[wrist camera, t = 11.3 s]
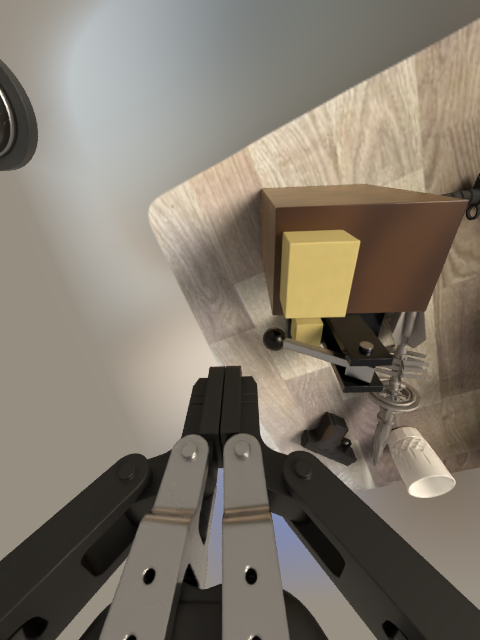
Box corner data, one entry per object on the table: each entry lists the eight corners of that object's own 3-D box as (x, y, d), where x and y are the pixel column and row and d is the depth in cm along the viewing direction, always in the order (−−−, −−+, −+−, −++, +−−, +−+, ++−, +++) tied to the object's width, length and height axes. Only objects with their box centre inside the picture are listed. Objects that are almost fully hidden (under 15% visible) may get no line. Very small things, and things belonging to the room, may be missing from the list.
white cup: (380, 429, 53) (407, 480, 44) (421, 420, 51) (457, 472, 42) (384, 449, 56) (408, 500, 48) (422, 442, 55) (454, 493, 46)
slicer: (285, 339, 41) (300, 402, 30) (288, 294, 37) (307, 349, 26) (373, 337, 41) (420, 400, 30) (386, 292, 36) (446, 346, 25)
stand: (261, 255, 34) (272, 315, 20) (261, 188, 30) (275, 207, 16) (352, 252, 33) (425, 311, 20) (365, 184, 29) (470, 199, 16)
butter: (289, 329, 40) (294, 348, 36) (291, 306, 38) (296, 324, 34) (311, 328, 40) (319, 348, 36) (314, 306, 38) (323, 324, 34)
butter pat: (279, 298, 19) (284, 318, 17) (282, 231, 17) (289, 243, 14) (332, 297, 19) (345, 317, 17) (343, 229, 17) (361, 240, 14)
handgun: (332, 423, 47) (298, 449, 52) (382, 446, 51) (346, 469, 55) (328, 410, 50) (296, 436, 54) (375, 433, 54) (342, 456, 58)
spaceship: (351, 476, 47) (401, 492, 44) (383, 301, 32) (461, 306, 29) (353, 441, 54) (396, 453, 50) (380, 282, 39) (443, 285, 36)
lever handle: (268, 339, 37) (258, 351, 35) (269, 320, 35) (258, 332, 33) (373, 371, 31) (368, 388, 28) (379, 350, 29) (375, 367, 27)
